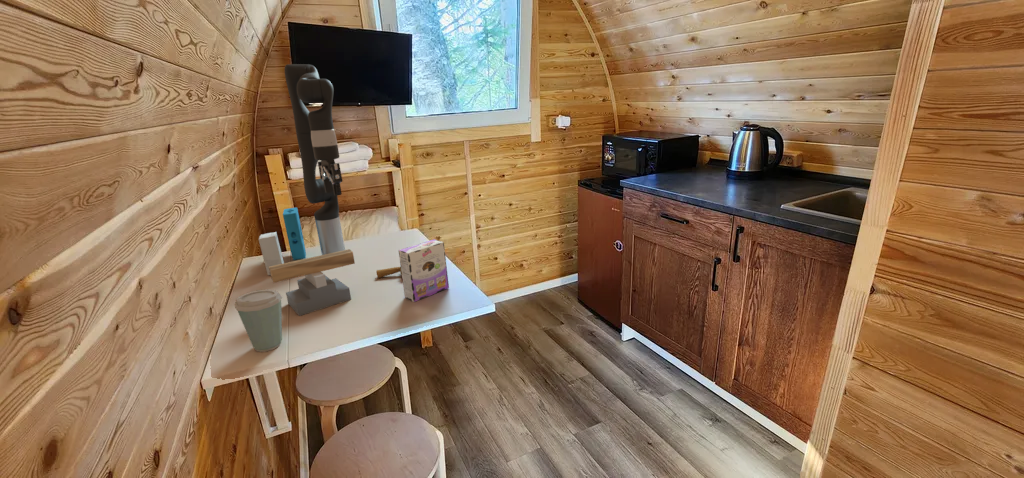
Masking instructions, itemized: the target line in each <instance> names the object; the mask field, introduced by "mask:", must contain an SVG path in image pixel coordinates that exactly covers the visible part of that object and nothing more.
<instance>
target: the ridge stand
mask: <svg viewBox="0 0 1024 478" xmlns="http://www.w3.org/2000/svg"><path fill="white" fill-rule="evenodd" d="M296 282H297V285H298V288H297V289H294V290H290V291H286V292H285V295H286V299H287V304H288V305H289V306H290V308H292V310H293V311H294V312H295V313H296V314H297V316H299V317H300V316H303V315H307V314H310V313H312V312H315V311H319V310H321V309H325V308H328V307H331V306H335V305H337V304H340V303H344V302H347V301H351V300H352V297H351V295H352V294H351V291H350V287H348V286H347V285H346V284H344V283H343V282H342V281H341V280H339V279H338V278H332V279H331V278H330V277H328V276H327V275H326V274H325V273H324V272H323V271H321V272H317V273H313V274H309V275H305V276H304V278H300V279H297V280H296Z"/></svg>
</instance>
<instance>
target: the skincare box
mask: <svg viewBox="0 0 1024 478" xmlns="http://www.w3.org/2000/svg"><path fill="white" fill-rule="evenodd" d="M258 243H259V247H260V251H261V255H262V258H263V262H264V267H265V270H266V274H267V276H271V274H270V270H269V267H270V266H275V265H279V264H284V263H285V261H284V258H283V257H284V256H283V254H282V248H281V246H280V245H281V244H280V241H279V237H278V233H277V231H275V232H274V231H273V232H267V233H262V234H260V235H259V237H258Z"/></svg>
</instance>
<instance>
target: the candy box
mask: <svg viewBox="0 0 1024 478" xmlns="http://www.w3.org/2000/svg"><path fill="white" fill-rule="evenodd" d="M398 257H399V263H400V267H401V272H402V275H401V278H402V286H403V293H404V298H406V299H407V300H410V301H411V302H413V303H415V302H417V301H420V300H422V299H425V298H428V297H430V296H432V295H436V294H437V293H440V292H442V291H445V290H447V289H449V288H450V285H449V284H450V283H449V275H448V269H447V259H446V251H445V243H444V241H441V240H437V239H431V240H428V241H424V242H422V243H418V244H414V245H411V246H408V247H405V248H401V249H398Z"/></svg>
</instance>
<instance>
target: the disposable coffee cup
mask: <svg viewBox="0 0 1024 478" xmlns="http://www.w3.org/2000/svg"><path fill="white" fill-rule="evenodd" d="M282 296H283V295H282V294H281V293H280V292H278V291H277V290H276V289H259V290H254V291H250V292H246V293H244V294H240V295H239V296H238V297H237V298H235V302H234V309H236V311H237V313H238V316H239V317H240V320H241V322H242V325H243V328H244V329H245V332H246V334H247V336H248V338H249V341H250V343H251V346H252V347H253V349H254V350H255V351H256V352H259V353H263V352H271V351H272V350H274V349H277V348H279V347H280V346H281V344H282V341H283V326H282V325H283V324H282V298H283V297H282Z"/></svg>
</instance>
